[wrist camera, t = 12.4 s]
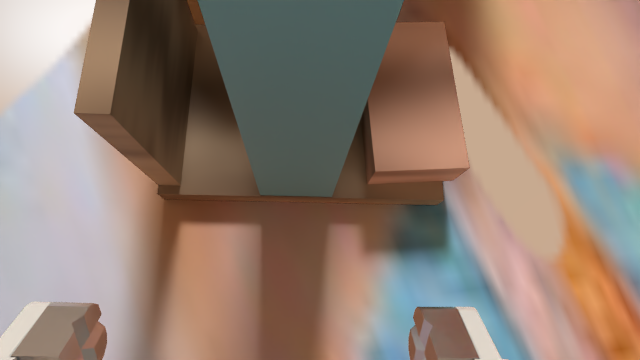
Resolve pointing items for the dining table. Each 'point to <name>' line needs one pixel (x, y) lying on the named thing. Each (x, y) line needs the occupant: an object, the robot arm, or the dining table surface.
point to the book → (298, 82)
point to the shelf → (220, 123)
